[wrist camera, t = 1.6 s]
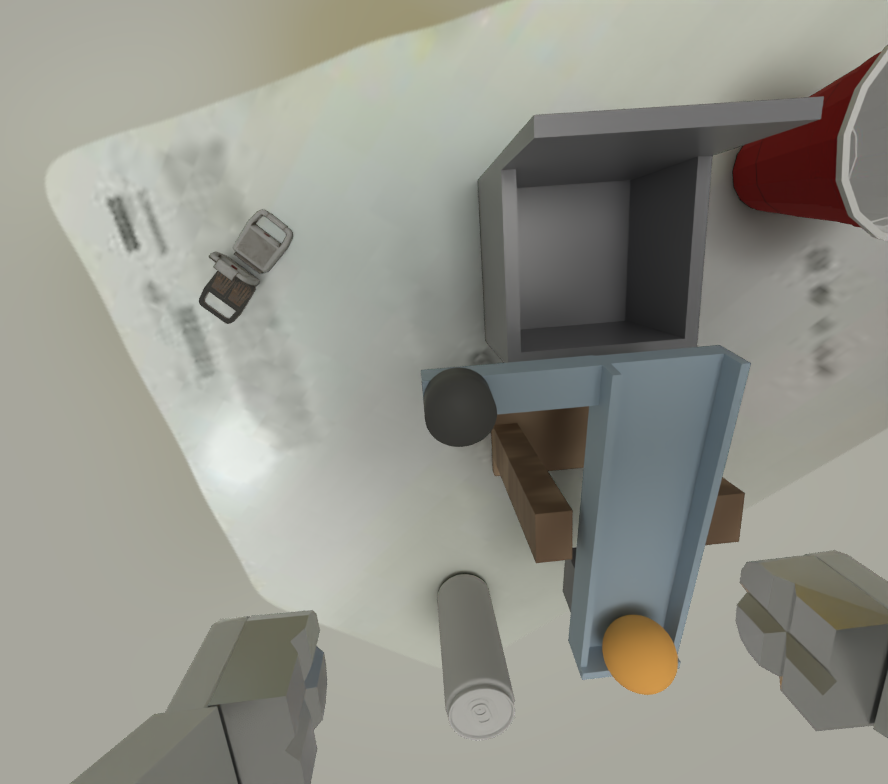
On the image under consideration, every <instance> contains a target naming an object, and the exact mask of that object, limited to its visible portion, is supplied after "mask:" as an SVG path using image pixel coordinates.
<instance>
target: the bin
mask: <svg viewBox="0 0 888 784" xmlns="http://www.w3.org/2000/svg"><path fill="white" fill-rule="evenodd" d="M823 100H824V96H823V97H807V98H792V99H776V100H760V101H745V102H729V103H714V104H698V105H682V106H667V107H651V108H635V109H620V110H604V111H588V112H573V113H557V114H542V115H534V116H533V117H532V118H531V119H530V120H529V121H528V122H527V124H526V125H525V126H524V127H523V128H522V129H521V131H520V132H519V133H518V134H517V135H516V136H515V138H514V139H513V140H512V141H511V142H510V143H509V144H508V146H507V147H506V148H505V149H504V150H503V151H502V153H501V154H500V155H499V156H498V157H497V158H496V160H495V161H494V162H493V163H492V164H491V165H490V166H489V168H488V169H487V170H486V171H485V172H484V173H483V175H482V176H481V177H480V178H479V179H478V198H479V218H480V239H481V260H482V280H483V301H484V322H485V341H486V342H487V343H488V344H489V346H490V347H491V348H492V349H493V350H494V351H495V352H496V354H497V355H498V356H499V357H500V358H501V359H502V361H503V362H504V363H509V362H520V361H532V360H543V359H555V358H566V357H578V356H589V355H593V356H599V355H611V354H622V353H634V352H645V351H657V350H668V349H680V348H691V347H697V341H698V328H699V316H700V304H701V292H702V279H703V267H704V255H705V243H706V230H707V218H708V206H709V194H710V181H711V169H712V157H713V155H716V154H719V153H722V152H725V151H727V150H730V149H733V148H736V147H739V146H742V145H745V144H748V143H751V142H754V141H757V140H760V139H763V138H766V137H769V136H772V135H775V134H778V133H781V132H784V131H787V130H790V129H793V128H796V127H799V126H802V125H805V124H808V123H811V122H814V121H817V120H820V119H821V114H822V107H823Z"/></svg>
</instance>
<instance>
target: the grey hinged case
mask: <svg viewBox="0 0 888 784" xmlns="http://www.w3.org/2000/svg"><path fill="white" fill-rule="evenodd" d="M263 215H264V216H265V217H267V218H268V219H269V220H271V221H272V222H273V223H274V224H276V225H277V226H278V227H280V228H281V229H282V230H283V231H284V232H285V233H286V237H285V239H284V241H283V243H282V244H281V243H280V242H278V241H277V240H276V239H274V238H273V237H272V236H271V235H269V234H268V233H267V232H265V231H264V230H263V229H262V228H260V227H259V226H258V225H256V223H257V221H258V220H259V219H260V218H261V217H262V216H263ZM292 239H293V232H292V230H291V229H289V228H288V226H286V225H285V224H284V223H283V222H281V221H280V220H279V219H278V218H276V217H275V216H274V215H273V214H271V213H269V212H268V211H266V210H259V211H257V212H256V213H255V214H254V215H253V216H252V217H251V218H250V219H249V220H248V222H247V223H246V225H245V227H244V229H243V230H242V232H241V234H240V235H239V237H238V239H237V241H236V242H235V244H234V246H233V249H234V250H235V251H236V252H235V253H234V255H235V256H237V257H238V258H239V259H241V260H242V261H243V262H245V263H246V264H247V265H249V266H250V267H251V268H253V269H254V270H255V271H257V272H258V273H259V274H260V273H263V272H269V271H270V270H271V268H272V267H273V266H274V265H275V264H276V262H277V261H278V260H279V259H280V257H281V256H282V255H283V254H284V252H285V251H286V250H287V249H288V247H289V245H290V243H291V241H292ZM209 258H210V259H212V260H213V261H214V262H216V264H215V265H214V268H215V269H216V270H218V271H217V272H216V274H215V275H214V276H213V277H212V279H211V280H210V281H209V282H208V284H207V285H206V286H205V288H204V289H203V292H202V294H201V296H200V298H199V303H200V305H201V306H202V307H204V308H205V309H207V310H208V311H209V312H211V313H212V314H214V315H215V316H217V317H218V318H219V319H221V320H222V321H223V322H225V323H227V324H229V323H232V322H234V321H235V320H236V319H237V318H238V317H239V316H240V315H241V314H242V312H243V310H244V309H245V307H246V305H247V304H248V302H249V300H250V299H251V297H252V295H253V294H254V292H255V290H256V287H255V286H257V285H258V283H259V279H257V278H256V277H255V276H253V275H252V274H251V273H249V272H248V271H247V270H245V269H244V268H243V267H241V266H240V265H239V264H237V263H236V262H235V261H233V260H232V259H231V258H229V257H227V256H225V255H223V254H221V253H219V252H213V253H211V254H210V255H209ZM209 292H210V293H212V294H213V295H215V296H216V297H217V298H219V299H220V300H222V301H223V302H224V303H226V304H227V305H228V306H230V307H231V308H233V309H234V310H235V311H236V312H235V313H234V314H233V315H232V317H231V318H230V319H228V318H227V317H225V316H223V315H222V314H221V313H219V312H218V311H216V310H215V309H214V308H212V307H211V306H210V305H208V304H207V303H206V302H205V299H206V297H207V295H208V293H209Z"/></svg>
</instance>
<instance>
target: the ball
mask: <svg viewBox="0 0 888 784" xmlns="http://www.w3.org/2000/svg"><path fill="white" fill-rule="evenodd" d="M602 652H603V657H604V661H605V664H606V666H607V668H608V670H609V672H610V673H611V675H612V676H613V677H614V678H615V680H616V681H618V682H619V683H620V684H621V685H622V686H623V687H625V688H626V689H628V690H630V691H632V692H635V693H639V694H644V695H650V694H656V693H658V692H661V691H663V690H664V689H666V688H667V687H668V686H669V685H670V684H671V683H672V681H673V680H674V678H675V676H676V673H677V668H678V656H677V651H676V648H675V645H674V643H673V641H672V639H671V637H670V636H669V634H668V633H667V632H666V631H665V629H664V628H663V627H662V626H660V625H659V624H658V623H657V622H655V621H653V620H652V619H650V618H647V617H645V616H641V615H625V616H622V617H620V618H618V619H616V620H614V621H613V622H612V623H611V624H610V625H609V627H608V628H607V630H606V632H605V634H604V637H603V643H602Z"/></svg>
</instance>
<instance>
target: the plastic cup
mask: <svg viewBox="0 0 888 784" xmlns="http://www.w3.org/2000/svg"><path fill="white" fill-rule="evenodd" d="M823 96H824V100H823V107H822V114H821V119H820V120H817V121H814V122H811V123H808V124H805V125H802V126H799V127H796V128H793V129H790V130H787V131H784V132H781V133H778V134H775V135H772V136H769V137H766V138H763V139H760V140H757V141H754V142H751V143H748V144H745V145H744V146H743V147H742V149H741V150H740V152H739V153H738V155H737V158H736V161H735V165H734V169H733V182H734V188H735V190H736V192H737V194H738V196H739V198H740V200H741V201H743V202H744V203H745V204H747V205H748V206H749V207H751V208H754V209H756V210H760V211H766V212H772V213H780V214H786V215H792V216H797V217H805V218H813V219H820V220H828V221H836V222H840V223H846V224H852V225H853V226H855V227H861V228H863V229H864V230H865V231H866V232H867V233H869V234H870V235H871V236H872V237H875V238H877V239H882V240H887V241H888V45H887V46H885V48H884V49H883V50H882V51H881V52H880V53H878V54H876V55H874V56H872V57H871V58H870V59H868V60H867V61H866V62H864V63H863V64H862V65H860V66H859V67H857V68H856V69H854V70H852V71H851V72H849V73H848V74H846V75H844V76H843V77H841V78H839V79H838V80H836V81H834V82H833V83H831V84H830V85H828V86H826V87H825V88H823V89H821V90H820V91H818V92H816V93H815V94H813V95H811V96H810V97H823Z"/></svg>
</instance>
